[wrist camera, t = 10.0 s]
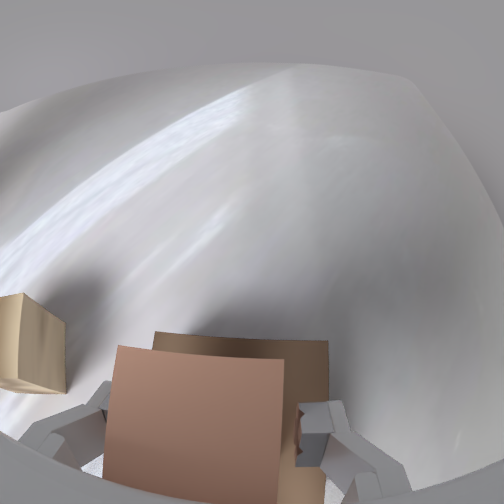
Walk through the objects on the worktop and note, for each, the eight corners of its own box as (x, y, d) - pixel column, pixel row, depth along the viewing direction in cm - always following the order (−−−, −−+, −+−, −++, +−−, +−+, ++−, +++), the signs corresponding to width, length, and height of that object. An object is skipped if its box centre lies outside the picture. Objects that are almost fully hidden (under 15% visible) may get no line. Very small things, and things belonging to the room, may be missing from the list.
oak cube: (16, 393, 18) (-32, 376, 13) (18, 329, 21) (-24, 301, 16) (67, 394, 18) (17, 378, 13) (66, 323, 21) (23, 292, 16)
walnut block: (159, 482, 15) (137, 492, 12) (172, 348, 20) (155, 331, 17) (311, 494, 15) (323, 509, 11) (316, 355, 20) (328, 340, 16)
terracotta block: (186, 455, 13) (102, 479, 5) (193, 387, 15) (118, 345, 8) (272, 463, 13) (276, 510, 5) (276, 393, 15) (284, 359, 7)
